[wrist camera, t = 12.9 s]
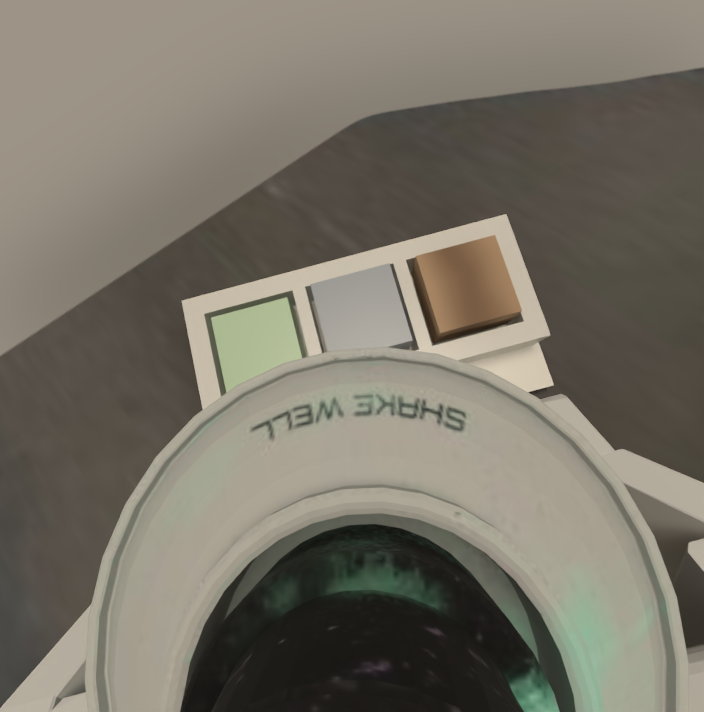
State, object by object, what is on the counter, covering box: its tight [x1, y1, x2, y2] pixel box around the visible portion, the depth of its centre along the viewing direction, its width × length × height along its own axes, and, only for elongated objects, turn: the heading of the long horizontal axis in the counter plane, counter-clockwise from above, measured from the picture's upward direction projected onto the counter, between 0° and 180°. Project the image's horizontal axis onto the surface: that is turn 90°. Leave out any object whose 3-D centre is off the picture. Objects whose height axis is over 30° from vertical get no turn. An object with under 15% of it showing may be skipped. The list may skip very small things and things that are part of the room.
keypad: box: [182, 214, 554, 410], centre depth 35 cm, size 27×14×5 cm, turn 105°
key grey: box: [310, 263, 413, 351], centre depth 33 cm, size 6×6×4 cm
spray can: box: [85, 347, 689, 712], centre depth 11 cm, size 6×6×20 cm
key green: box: [211, 297, 307, 393], centre depth 34 cm, size 6×6×4 cm
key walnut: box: [412, 235, 522, 344], centre depth 33 cm, size 6×6×4 cm
